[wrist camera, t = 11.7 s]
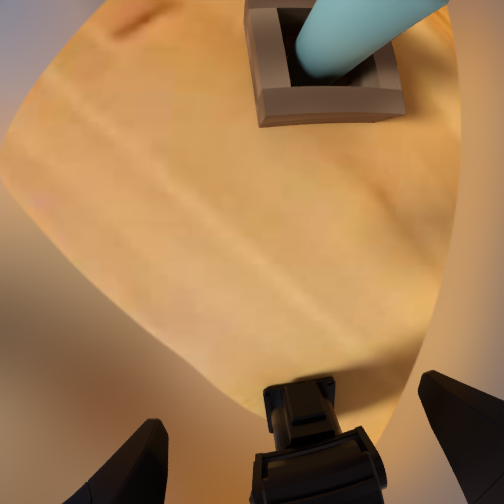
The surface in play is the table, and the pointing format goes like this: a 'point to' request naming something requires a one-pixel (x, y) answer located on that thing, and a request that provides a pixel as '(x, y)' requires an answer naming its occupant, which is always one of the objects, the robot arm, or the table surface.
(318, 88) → the hole block
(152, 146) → the table surface
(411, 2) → the teal cylinder rod
